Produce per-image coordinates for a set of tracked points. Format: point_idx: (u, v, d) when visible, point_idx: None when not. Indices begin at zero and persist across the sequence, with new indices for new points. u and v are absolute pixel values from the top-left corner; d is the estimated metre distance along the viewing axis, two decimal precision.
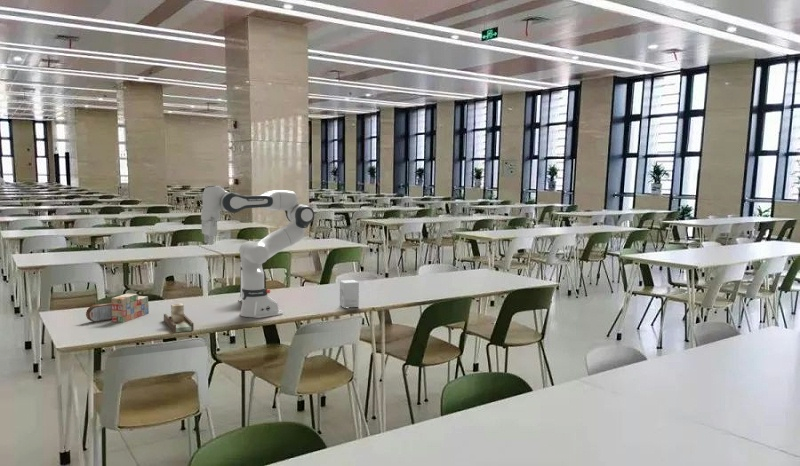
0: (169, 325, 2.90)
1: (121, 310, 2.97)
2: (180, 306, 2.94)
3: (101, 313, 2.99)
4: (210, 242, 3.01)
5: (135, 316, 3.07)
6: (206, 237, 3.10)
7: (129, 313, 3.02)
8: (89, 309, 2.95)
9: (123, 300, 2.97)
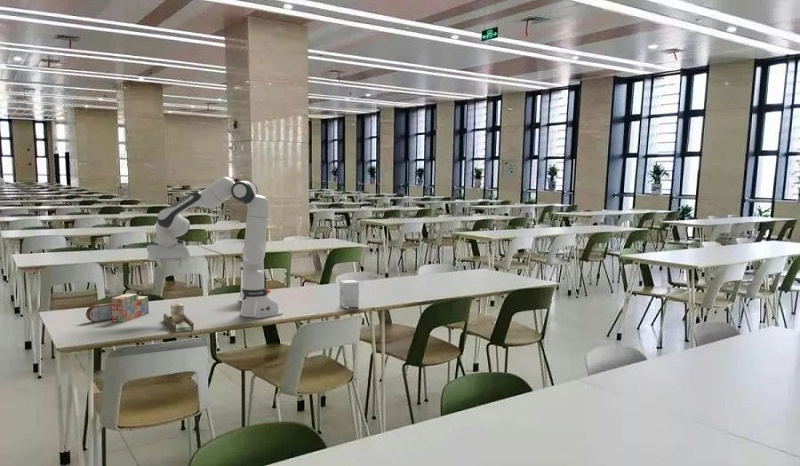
0: (169, 325, 2.90)
1: (121, 310, 2.97)
2: (180, 306, 2.94)
3: (101, 313, 2.99)
4: (159, 264, 3.04)
5: (135, 316, 3.07)
6: (180, 261, 3.12)
7: (129, 313, 3.02)
8: (89, 309, 2.95)
9: (123, 300, 2.97)
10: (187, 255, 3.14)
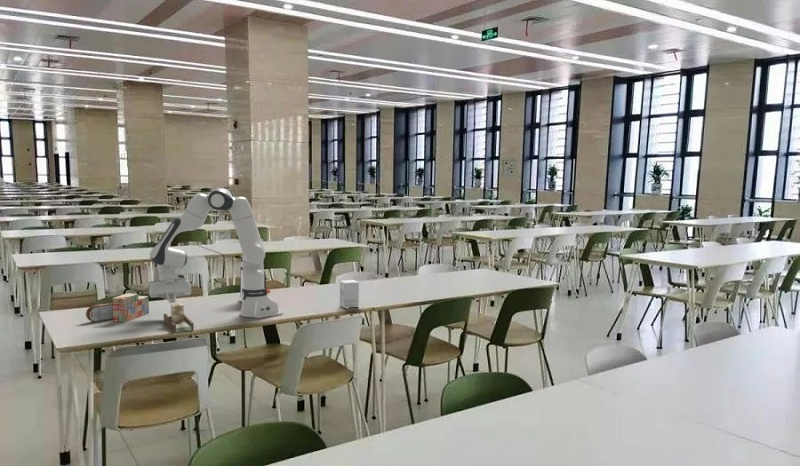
0: (169, 325, 2.90)
1: (122, 310, 2.98)
2: (180, 306, 2.94)
3: (101, 313, 2.99)
4: None
5: (136, 316, 3.08)
6: (174, 297, 3.08)
7: (130, 313, 3.03)
8: (89, 309, 2.95)
9: (124, 300, 2.98)
10: (188, 289, 3.12)
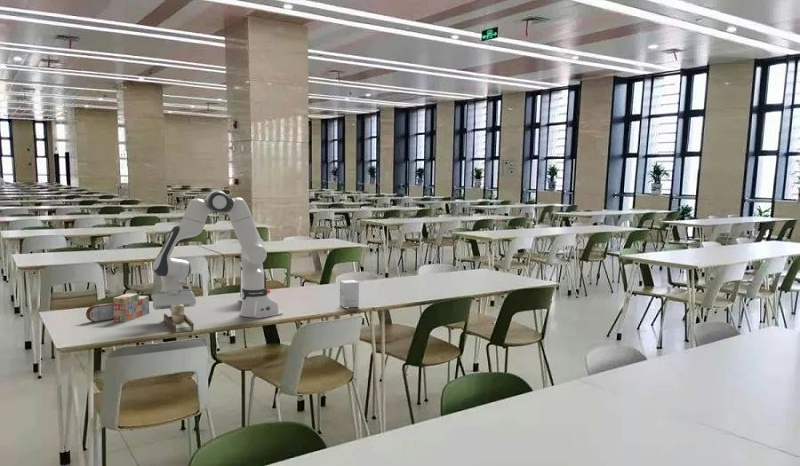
0: (169, 325, 2.90)
1: (123, 310, 2.98)
2: (180, 307, 2.92)
3: (101, 313, 2.99)
4: None
5: (136, 316, 3.08)
6: None
7: (131, 313, 3.03)
8: (89, 309, 2.95)
9: (125, 300, 2.98)
10: (193, 301, 3.03)
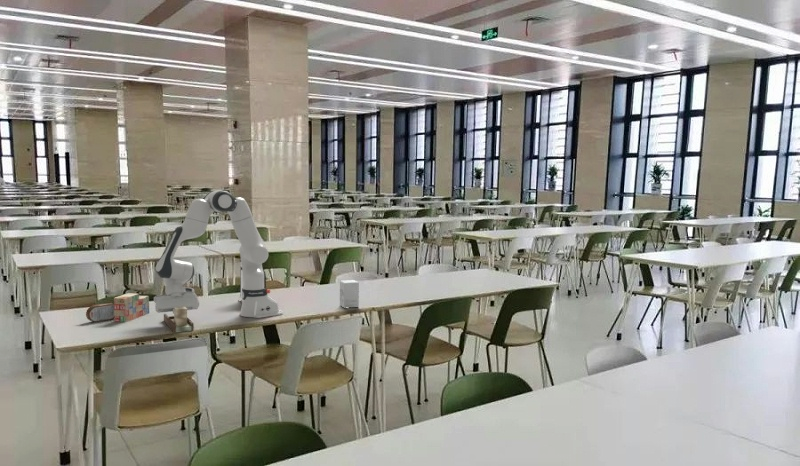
0: (169, 325, 2.90)
1: (124, 310, 2.98)
2: (183, 309, 2.86)
3: (101, 313, 2.99)
4: None
5: (137, 316, 3.08)
6: None
7: (131, 313, 3.03)
8: (89, 309, 2.95)
9: (126, 300, 2.98)
10: (196, 303, 2.97)
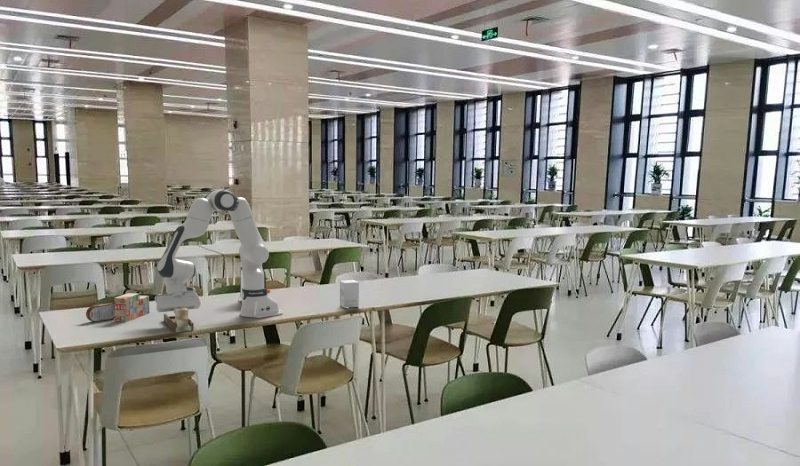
0: (169, 325, 2.90)
1: (124, 310, 2.98)
2: (184, 311, 2.84)
3: (101, 313, 2.99)
4: None
5: (137, 315, 3.09)
6: None
7: (132, 313, 3.03)
8: (89, 309, 2.95)
9: (126, 300, 2.98)
10: (198, 303, 2.96)
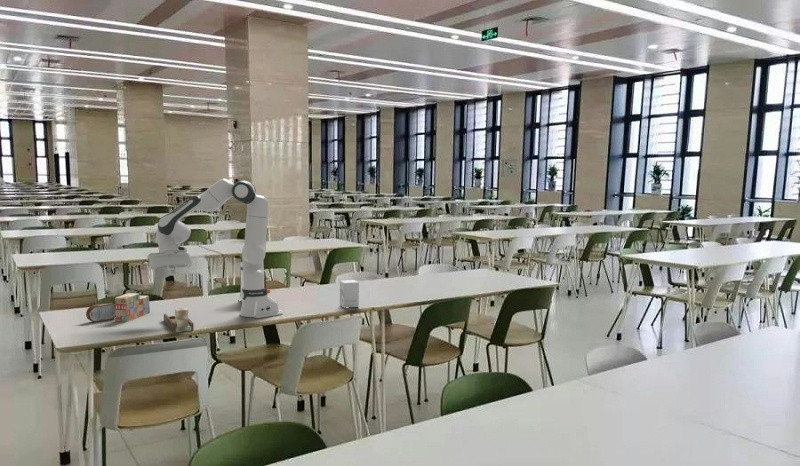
0: (169, 325, 2.90)
1: (125, 309, 2.98)
2: (184, 311, 2.84)
3: (101, 313, 2.99)
4: (169, 272, 3.02)
5: (138, 315, 3.09)
6: None
7: (132, 312, 3.04)
8: (89, 309, 2.95)
9: (127, 299, 2.99)
10: (189, 261, 3.09)
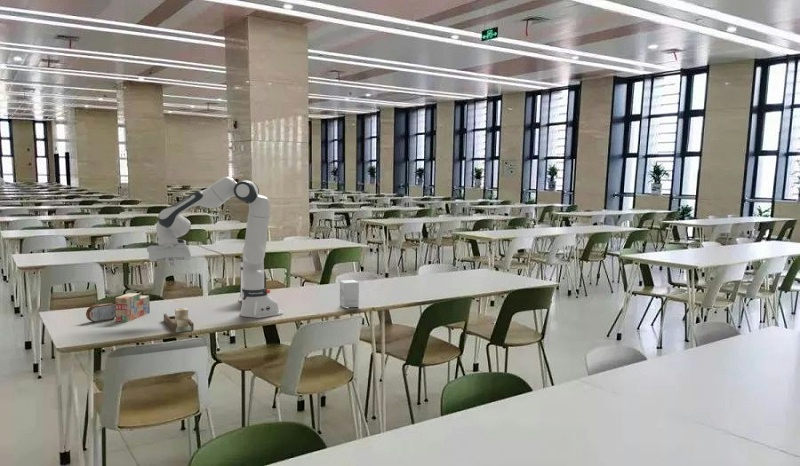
0: (169, 325, 2.90)
1: (126, 309, 2.99)
2: (184, 311, 2.84)
3: (101, 313, 2.99)
4: (168, 264, 3.04)
5: (138, 315, 3.09)
6: (173, 261, 3.07)
7: (133, 312, 3.04)
8: (89, 309, 2.95)
9: (128, 299, 2.99)
10: (188, 254, 3.11)
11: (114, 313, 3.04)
